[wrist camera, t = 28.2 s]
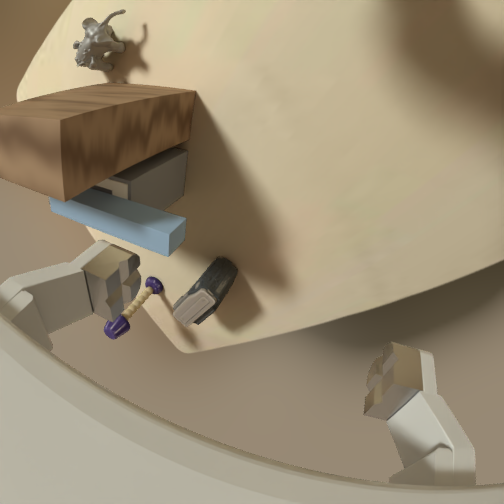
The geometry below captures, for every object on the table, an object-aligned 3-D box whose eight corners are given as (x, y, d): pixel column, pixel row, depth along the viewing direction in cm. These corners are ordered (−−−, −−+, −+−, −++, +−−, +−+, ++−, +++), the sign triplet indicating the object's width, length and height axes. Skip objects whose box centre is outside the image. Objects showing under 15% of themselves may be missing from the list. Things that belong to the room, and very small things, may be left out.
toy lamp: (152, 294, 68) (111, 344, 54) (141, 277, 66) (96, 326, 53) (166, 289, 65) (124, 342, 52) (154, 272, 64) (108, 323, 50)
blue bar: (68, 181, 38) (48, 192, 35) (186, 218, 35) (169, 234, 32) (70, 199, 40) (51, 211, 37) (184, 239, 37) (168, 257, 34)
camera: (221, 251, 56) (197, 283, 47) (245, 272, 57) (225, 308, 48) (189, 281, 62) (165, 313, 54) (210, 300, 63) (189, 334, 55)
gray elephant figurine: (89, 59, 43) (58, 65, 37) (110, 2, 36) (78, 1, 30) (121, 75, 44) (90, 81, 38) (146, 13, 36) (115, 11, 30)
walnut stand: (108, 82, 44) (-19, 114, 23) (195, 90, 42) (60, 119, 21) (105, 124, 49) (-14, 172, 28) (189, 139, 46) (64, 202, 25)
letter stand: (105, 134, 50) (43, 158, 38) (187, 151, 47) (129, 181, 35) (105, 173, 55) (48, 204, 42) (183, 195, 52) (130, 236, 40)
